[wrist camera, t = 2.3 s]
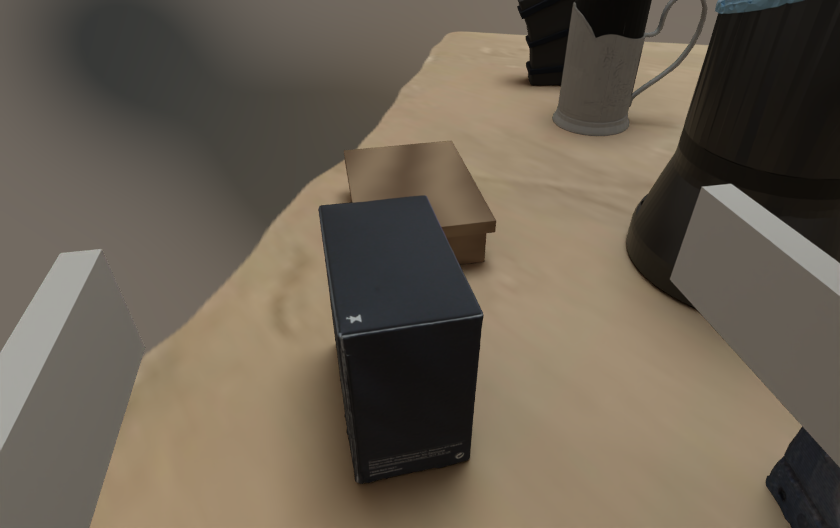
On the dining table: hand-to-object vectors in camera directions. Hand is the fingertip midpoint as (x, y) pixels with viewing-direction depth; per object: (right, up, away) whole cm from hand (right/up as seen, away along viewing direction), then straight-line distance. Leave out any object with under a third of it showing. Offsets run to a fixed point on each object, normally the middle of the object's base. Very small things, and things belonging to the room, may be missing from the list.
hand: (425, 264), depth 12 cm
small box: (-1, -8, +19) cm, 21 cm away
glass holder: (+23, +17, +51) cm, 58 cm away
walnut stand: (-1, +4, +34) cm, 34 cm away
